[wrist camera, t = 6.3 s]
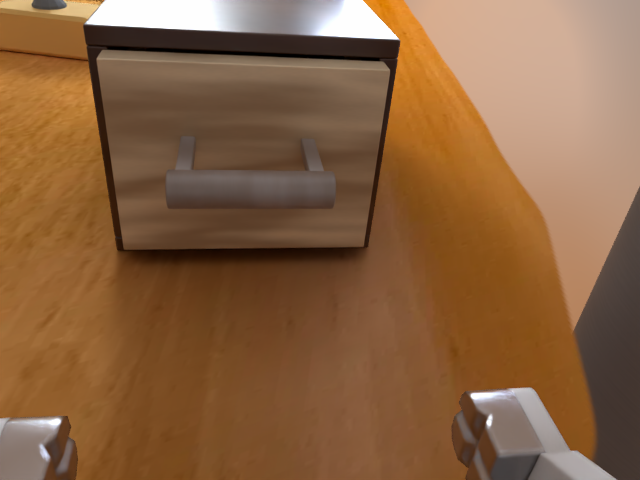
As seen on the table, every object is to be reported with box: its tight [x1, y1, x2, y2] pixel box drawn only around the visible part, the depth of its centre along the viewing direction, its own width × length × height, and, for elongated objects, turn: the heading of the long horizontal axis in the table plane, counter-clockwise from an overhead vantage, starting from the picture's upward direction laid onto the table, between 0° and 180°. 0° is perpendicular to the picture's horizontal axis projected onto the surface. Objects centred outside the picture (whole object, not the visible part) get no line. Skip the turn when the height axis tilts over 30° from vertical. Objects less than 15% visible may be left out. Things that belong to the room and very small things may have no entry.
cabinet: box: [83, 0, 400, 250], centre depth 31 cm, size 16×13×11 cm
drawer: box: [96, 47, 390, 250], centre depth 28 cm, size 19×11×9 cm, turn 8°
